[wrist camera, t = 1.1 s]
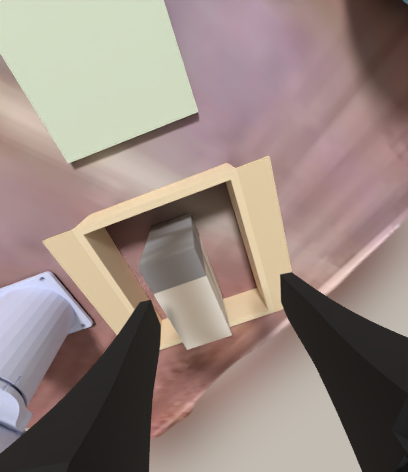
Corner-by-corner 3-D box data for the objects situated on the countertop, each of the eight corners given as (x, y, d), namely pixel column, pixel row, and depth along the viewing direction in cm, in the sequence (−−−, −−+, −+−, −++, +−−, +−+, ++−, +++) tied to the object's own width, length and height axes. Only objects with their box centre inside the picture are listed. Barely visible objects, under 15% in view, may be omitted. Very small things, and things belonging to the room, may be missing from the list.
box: (185, 294, 24) (187, 349, 18) (151, 226, 20) (138, 268, 14) (218, 282, 24) (231, 335, 18) (190, 212, 20) (194, 248, 14)
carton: (140, 331, 26) (135, 358, 23) (64, 224, 19) (42, 241, 16) (283, 282, 25) (298, 304, 22) (254, 152, 18) (269, 156, 15)
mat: (71, 162, 17) (68, 163, 17) (-29, 0, 13) (-36, -5, 12) (197, 112, 17) (198, 111, 16) (138, -77, 12) (137, -85, 12)
